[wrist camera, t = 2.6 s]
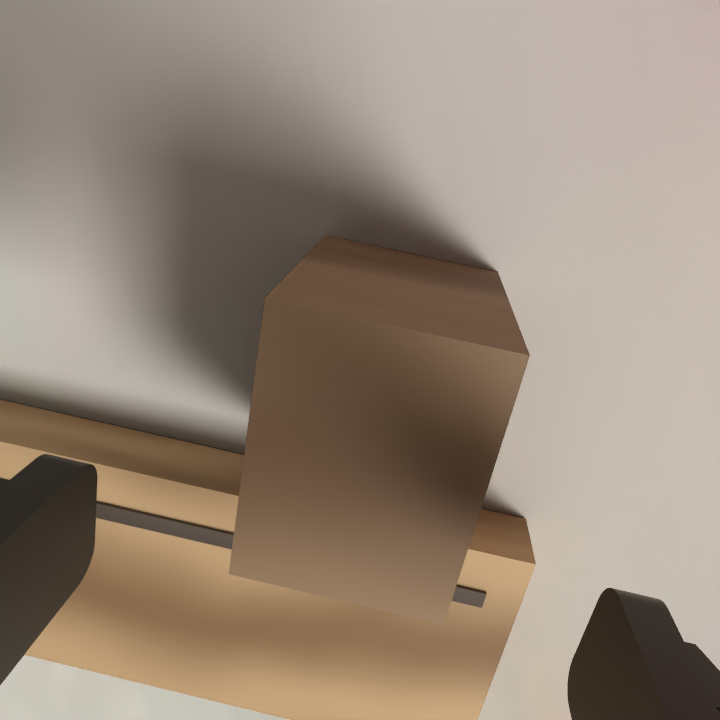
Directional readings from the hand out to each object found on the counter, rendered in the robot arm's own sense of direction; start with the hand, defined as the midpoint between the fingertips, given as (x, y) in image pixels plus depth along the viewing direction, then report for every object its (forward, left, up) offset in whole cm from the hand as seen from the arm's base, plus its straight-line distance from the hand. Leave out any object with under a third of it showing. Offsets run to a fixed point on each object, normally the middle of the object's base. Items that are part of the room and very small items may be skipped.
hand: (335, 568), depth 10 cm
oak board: (+8, -8, -8) cm, 14 cm away
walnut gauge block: (0, 0, -8) cm, 8 cm away
